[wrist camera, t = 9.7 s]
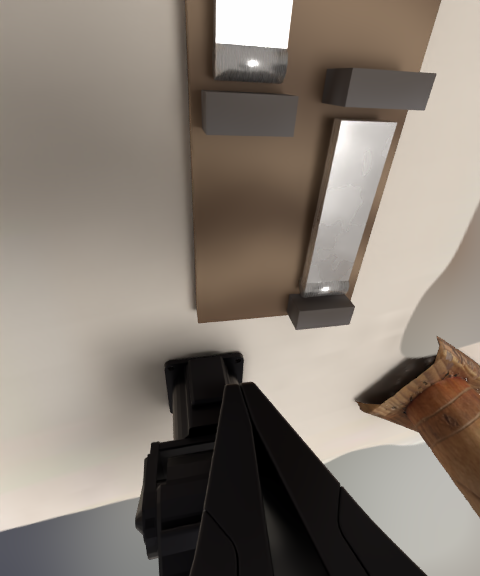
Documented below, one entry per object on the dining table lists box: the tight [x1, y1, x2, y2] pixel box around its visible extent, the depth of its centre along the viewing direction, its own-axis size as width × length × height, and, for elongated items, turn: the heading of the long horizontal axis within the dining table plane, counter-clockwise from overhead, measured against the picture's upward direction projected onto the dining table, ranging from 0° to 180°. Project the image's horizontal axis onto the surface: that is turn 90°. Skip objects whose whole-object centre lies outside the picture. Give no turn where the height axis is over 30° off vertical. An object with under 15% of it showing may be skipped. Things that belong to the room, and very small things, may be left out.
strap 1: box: [299, 118, 397, 297], centre depth 19 cm, size 11×3×1 cm, turn 177°
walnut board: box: [185, 0, 441, 330], centre depth 15 cm, size 27×12×4 cm, turn 177°
